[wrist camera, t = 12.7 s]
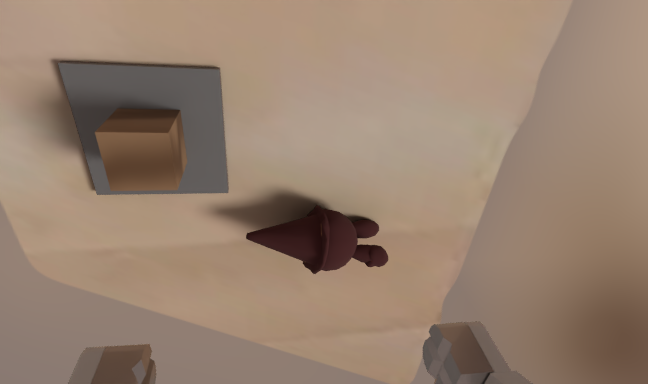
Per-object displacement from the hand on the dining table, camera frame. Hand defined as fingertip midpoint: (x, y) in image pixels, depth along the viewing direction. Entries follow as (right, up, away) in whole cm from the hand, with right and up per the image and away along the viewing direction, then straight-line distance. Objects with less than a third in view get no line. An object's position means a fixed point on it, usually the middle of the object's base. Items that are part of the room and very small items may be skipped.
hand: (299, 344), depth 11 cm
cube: (-14, +9, +21) cm, 27 cm away
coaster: (-14, +10, +22) cm, 28 cm away
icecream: (0, +1, +30) cm, 30 cm away
